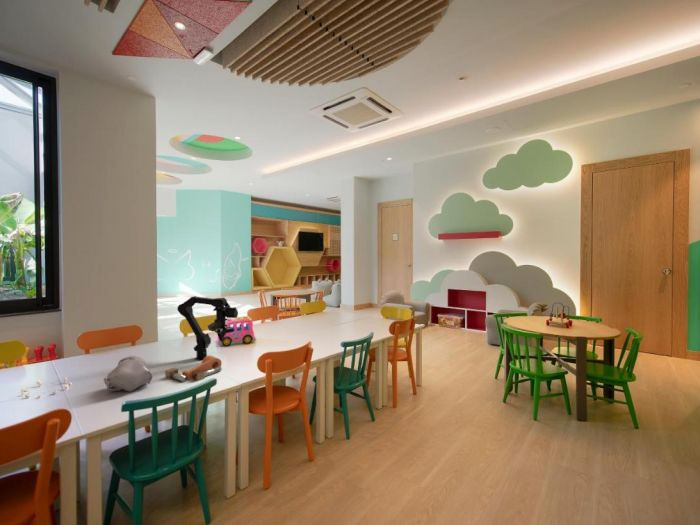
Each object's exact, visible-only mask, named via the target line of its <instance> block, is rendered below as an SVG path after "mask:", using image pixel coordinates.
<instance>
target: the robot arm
mask: <svg viewBox="0 0 700 525" xmlns="http://www.w3.org/2000/svg"><path fill="white" fill-rule="evenodd" d="M196 304H202V305H207V306H209V305H210V306H212V307H214V308H213V309H212V311H213V312H215V313H216V314H215V315H216V316H215V319H214V322H211V323H210V324H208V325H207V328H208V331H209V332H210V331H211V332H215V334H217V337H218V339H219V341H220V342H223V340H224V338H225V336H226V335H227V334H229V333H232V332H234V331H235V328H234V327H232V326H228V324H227V323H226V322H227V321H228V318H229V319H237V318H238V315H239V310H238V309H237V307H235V306H234V307H231V305H230V304H229V302H228V301H227V298H225V297H216V298H215V297H214V298H212V297H202V296H195V295H193V296H191V297H190V298H188V299H187V300H186V301H184V302H183V303H180V304H178V306H177V307H176V308H177V311H178V313H179V314H180V315H181V316H182V317H184V318H185V320H186V321H187V323H188V324H189V326H190V328H191V330H192V332H193V333H194V335H195V340H196V341H195V342H196V345H195V346H194V347H193V350H194V352H195V353H196V355H195V356H196V357H194V360H197V361H203V359H204V358H205V357H206V356H208V354H207V353H208V351H207V348H209V346H210V345H211V343H212V338H211V337H210V335H209V333H205V332H204V331H203V330H202V328H201V326H200V324H199V322H198V320H197V319H196V316H194V309H193V307H194V306H195V305H196Z"/></svg>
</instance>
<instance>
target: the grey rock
mask: <svg viewBox="0 0 700 525" xmlns="http://www.w3.org/2000/svg"><path fill="white" fill-rule="evenodd" d="M152 379H153V374H152V372H150V370H149V369H148V367H147V363H146V361H145V360H144V359H143V358H142V357H140V356H136V355H134V356H133V355H131V356H126V357H124V358H121V359H119V361H118V363H117V366H116V367H115V368H114V369H113V370H112V371H110V372H109V373H108V374H107V375H106V377H104V378H103V382H104V384H105V385H106V387H107V388H106V390H107V391H110V392H119V391H122V390H124V391H126V392H133V391H134V390H136V389H138V388H139V387H142V386H143V385H147V384H149V385H151V382H152Z"/></svg>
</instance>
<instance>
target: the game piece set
mask: <svg viewBox="0 0 700 525" xmlns="http://www.w3.org/2000/svg"><path fill="white" fill-rule="evenodd" d="M57 382H58V380H56V381H55V382H54V381H53V382H52V383H51V384H52V385H54V384H57ZM63 382H64V383H65V385H63V387H64V390H65V391H68V390H69V389H70V388H69V387H70V386H72V385H73V383H72V382H71V381H70V382H69V383H68V377H64V378H63ZM66 383H68V384H66ZM36 384H37V386H38V388H40V387H42V386H43V384H42V381H40V380H38V381H37V382H36ZM29 387H30V386H29V385H28V386H27V387H26V388H25V389H23V388H22V389H20V391H21V394H19V395H18V397H24V398H25V399H29V398H30V396H31V395H30V390H29ZM25 392H28V393H27V394H26V393H25ZM57 393H58V390H57V389H55V390H54V391H52V393H51V394H52V395H53V394H54V395H56V394H57ZM42 398H43V393H40V394H39V393H38V395H37V399H42Z"/></svg>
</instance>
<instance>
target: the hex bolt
mask: <svg viewBox="0 0 700 525" xmlns="http://www.w3.org/2000/svg"><path fill="white" fill-rule="evenodd" d="M164 371H165V372H164V374H165V376H164V378H165V379H168V380H171V379H174V380H177V381H179V382H182V383H184V382H186V381H188V380H187V377H186V376H183V375H182V373H181V374H180V373H179V369H178V368H175V367H173V368H169V369H166V370H164Z"/></svg>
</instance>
